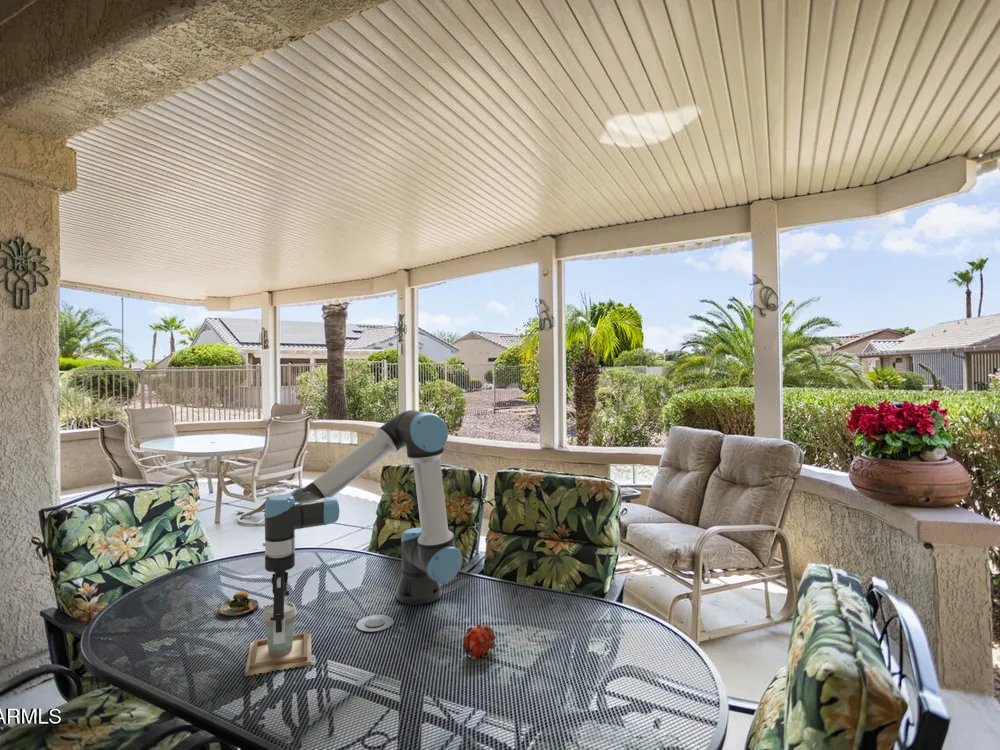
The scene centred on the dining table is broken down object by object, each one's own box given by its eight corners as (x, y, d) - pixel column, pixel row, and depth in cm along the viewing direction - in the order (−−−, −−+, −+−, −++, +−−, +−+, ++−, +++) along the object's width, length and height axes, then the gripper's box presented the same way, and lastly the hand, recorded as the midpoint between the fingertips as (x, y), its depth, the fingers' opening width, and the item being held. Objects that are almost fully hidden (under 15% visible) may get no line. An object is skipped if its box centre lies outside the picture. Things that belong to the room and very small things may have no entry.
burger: (209, 615, 172) (209, 592, 172) (240, 601, 183) (239, 579, 183) (237, 622, 167) (237, 598, 167) (267, 607, 178) (266, 584, 178)
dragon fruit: (492, 650, 153) (471, 677, 143) (470, 628, 156) (448, 654, 145) (507, 632, 150) (486, 658, 140) (484, 610, 153) (461, 634, 142)
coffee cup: (285, 661, 143) (285, 616, 143) (256, 657, 144) (256, 613, 144) (303, 645, 151) (303, 602, 151) (275, 642, 153) (275, 599, 153)
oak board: (311, 636, 158) (311, 630, 158) (311, 665, 143) (311, 657, 143) (251, 646, 153) (250, 639, 153) (244, 676, 138) (244, 668, 137)
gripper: (268, 541, 158) (268, 613, 158) (261, 571, 134) (261, 656, 135) (295, 538, 160) (296, 609, 161) (293, 567, 137) (293, 651, 137)
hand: (280, 631), depth 148 cm, fingers open, 13 cm apart
